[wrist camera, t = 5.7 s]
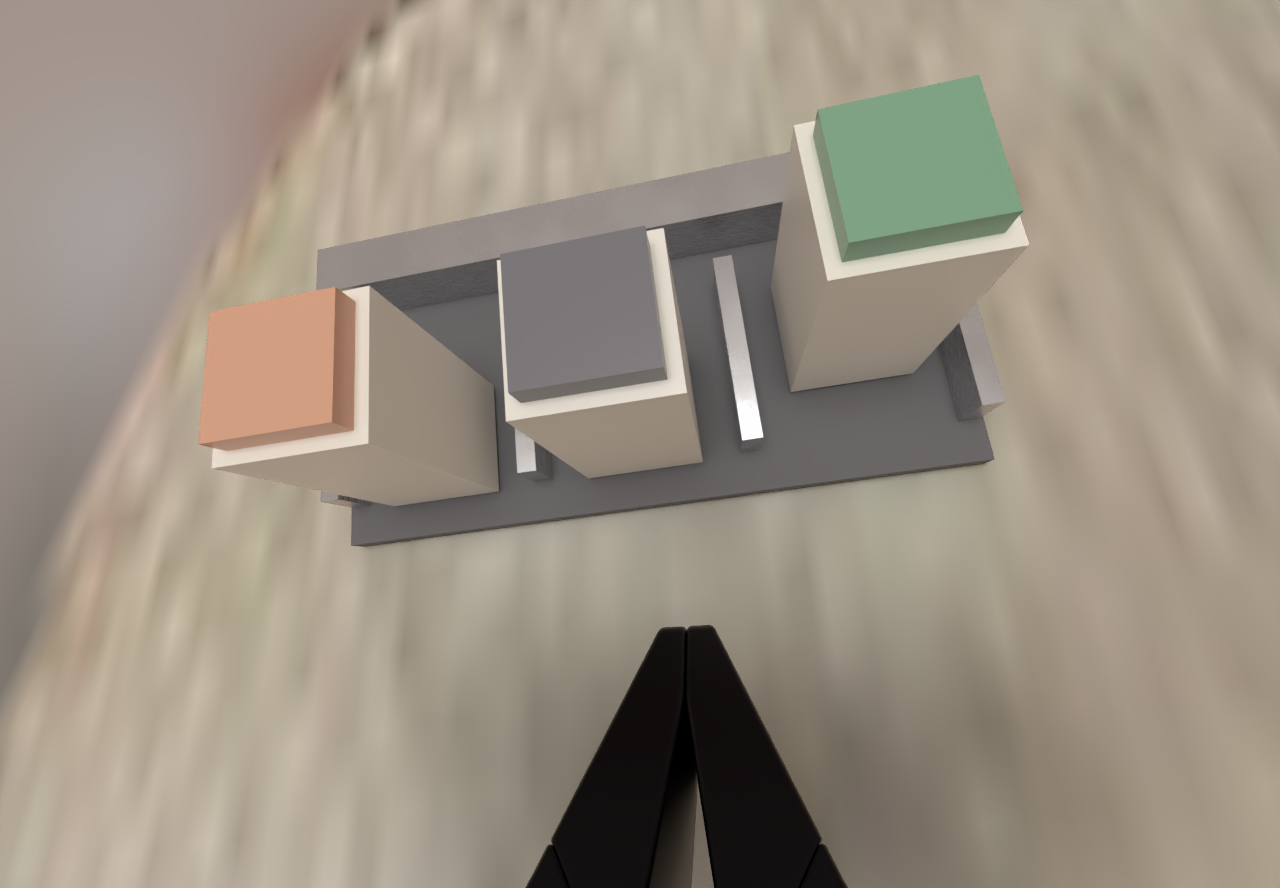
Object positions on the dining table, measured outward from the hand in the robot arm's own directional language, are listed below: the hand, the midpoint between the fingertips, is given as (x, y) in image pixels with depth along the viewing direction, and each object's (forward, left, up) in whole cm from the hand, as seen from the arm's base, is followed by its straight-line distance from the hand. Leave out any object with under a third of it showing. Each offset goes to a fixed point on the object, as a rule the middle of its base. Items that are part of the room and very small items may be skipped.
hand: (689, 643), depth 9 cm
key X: (+4, +6, -12) cm, 14 cm away
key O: (-2, +12, -12) cm, 17 cm away
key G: (+11, +2, -12) cm, 17 cm away
